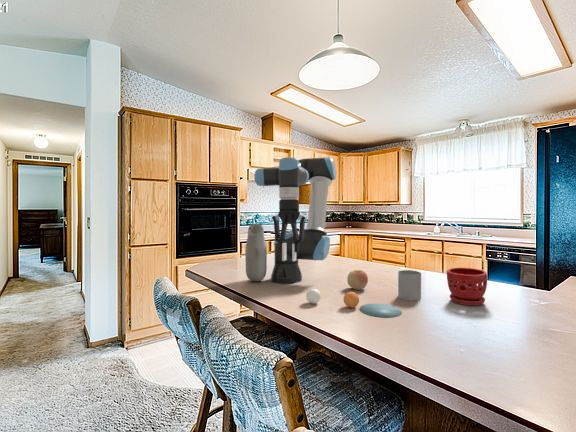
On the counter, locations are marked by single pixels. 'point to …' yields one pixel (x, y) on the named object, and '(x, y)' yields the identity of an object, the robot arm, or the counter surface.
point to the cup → (409, 285)
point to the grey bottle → (256, 253)
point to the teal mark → (380, 310)
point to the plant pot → (467, 285)
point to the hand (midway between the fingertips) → (289, 260)
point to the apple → (357, 279)
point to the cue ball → (313, 296)
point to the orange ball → (351, 299)
